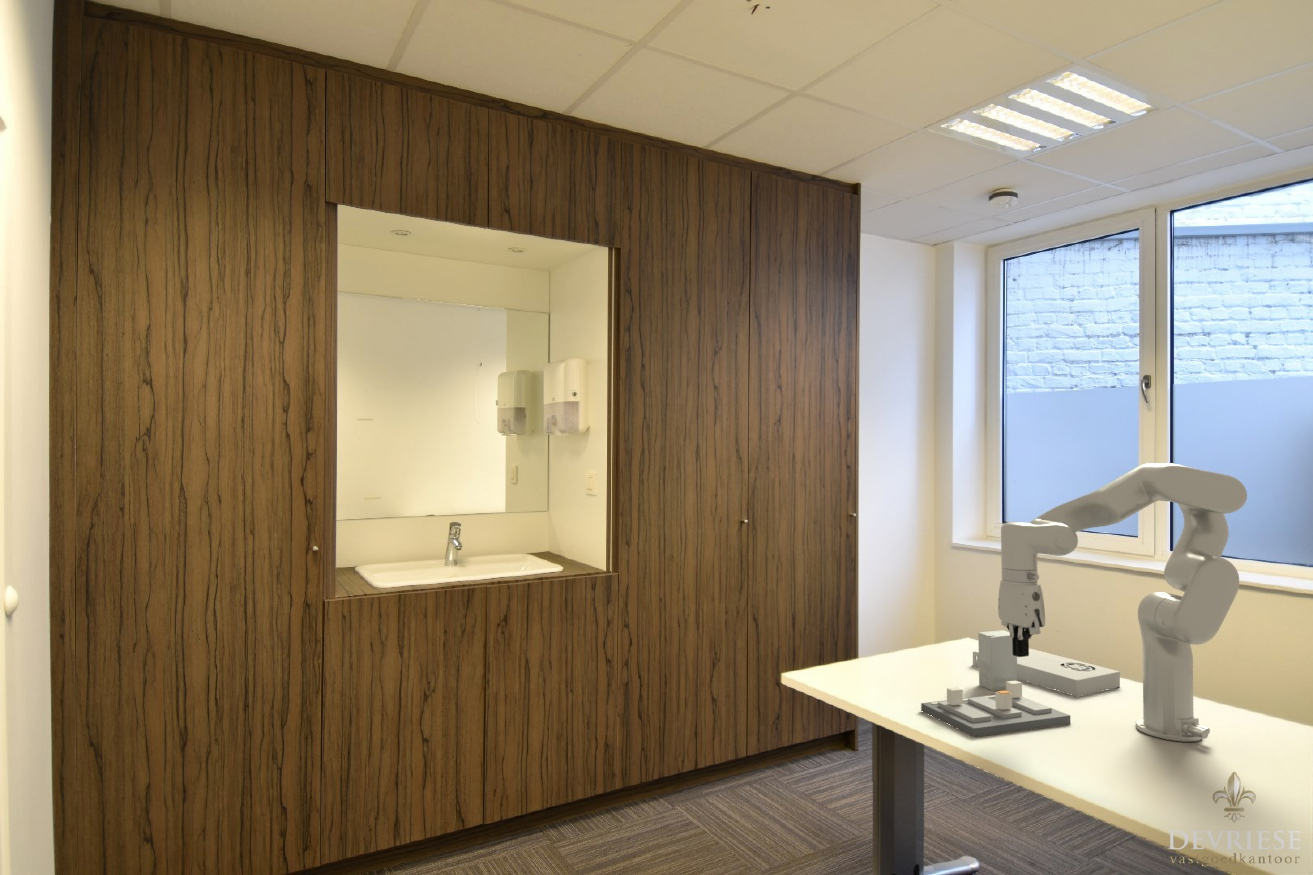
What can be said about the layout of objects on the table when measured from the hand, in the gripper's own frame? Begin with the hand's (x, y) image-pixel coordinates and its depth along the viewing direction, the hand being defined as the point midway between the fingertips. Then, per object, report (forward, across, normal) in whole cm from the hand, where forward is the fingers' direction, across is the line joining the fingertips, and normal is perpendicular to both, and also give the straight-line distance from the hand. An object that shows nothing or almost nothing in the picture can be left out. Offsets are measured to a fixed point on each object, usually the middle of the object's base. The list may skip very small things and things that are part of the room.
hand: (1020, 655), depth 173 cm
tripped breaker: (+14, +5, 0) cm, 14 cm away
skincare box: (+17, +28, -18) cm, 37 cm away
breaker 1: (+13, +11, +10) cm, 20 cm away
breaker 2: (+14, +11, -8) cm, 20 cm away
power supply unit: (+18, +33, -39) cm, 54 cm away
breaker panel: (+17, +8, 0) cm, 19 cm away
